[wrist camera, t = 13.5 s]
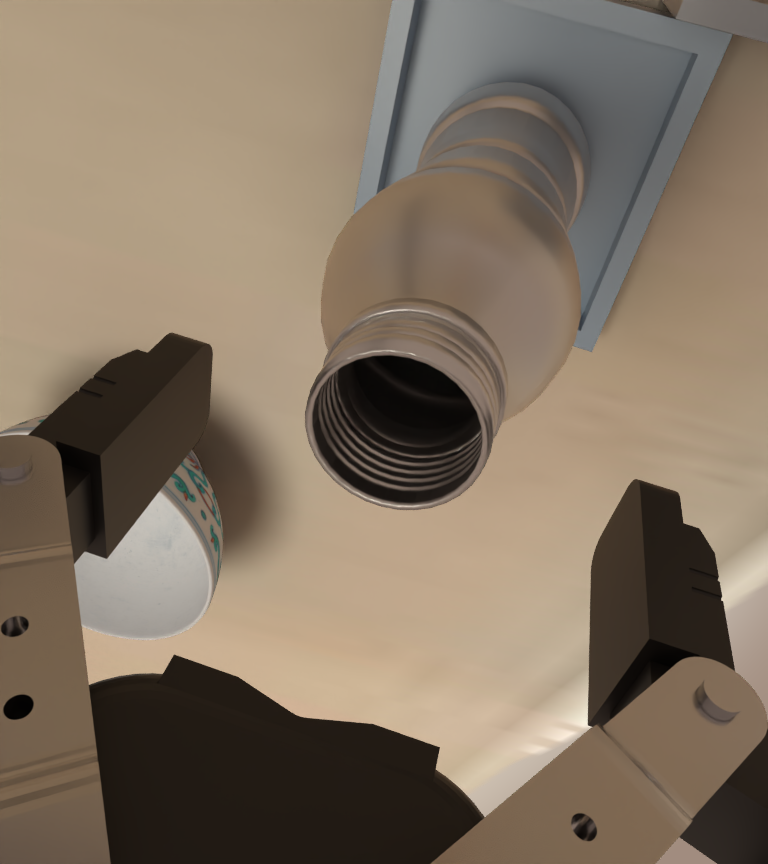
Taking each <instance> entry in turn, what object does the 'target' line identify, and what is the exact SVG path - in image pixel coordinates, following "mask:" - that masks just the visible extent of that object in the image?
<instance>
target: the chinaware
mask: <svg viewBox="0 0 768 864" xmlns="http://www.w3.org/2000/svg"><path fill="white" fill-rule="evenodd" d="M49 415H50V414H49ZM49 415H45V416H41V417H37V418H34V419H31V420H28V421H25V422H22V423H20V424H17V425H15V426H12V427H10V428H8V429H6V430H4V431H1V432H0V436H6V435H28V434H29V433H30V432H32V431H33V430H34V429H35V428H36V427H37V426H38V425H39V424H40V423H42V422H43V421H44V420H45V419H46V418H47V417H48V416H49ZM222 553H223V528H222V520H221V514H220V510H219V506H218V503H217V500H216V497H215V494H214V492H213V489H212V487H211V485H210V483H209V481H208V479H207V477H206V476H205V474H204V472H203V471H202V468H201V465H200V462H199V460H198V458H197V456H196V455H195V453H194V452H193V450H191V451H190V453H189V454H188V455H187V456H186V458H185V459H184V460H183V462H182V463H181V464H180V465H179V467H178V468H177V469H176V471H175V472H174V473H173V475H172V476H171V477H170V478H169V480H168V481H167V482H166V484H165V485H164V486H163V487H162V489H161V490H160V491H159V493H158V494H157V495H156V496H155V498H154V499H153V500H152V502H151V503H150V504H149V506H148V507H147V508H146V509H145V511H144V512H143V513H142V515H141V516H140V517H139V518H138V520H137V521H136V522H135V524H134V525H133V526H132V527H131V529H130V530H129V531H128V533H127V534H126V535H125V537H124V538H123V539H122V540H121V542H120V543H119V544H118V546H117V547H116V548H115V549H114V551H113V552H112V553H111V555H110V556H109V557H108V558H107V559H105V558H102V557H99V556H96V555H93V554H91V553H88V552H84V553H83V554H82V555H81V557H80V558H79V559H78V560H77V561H76V563H75V564H74V567H75V576H76V584H77V592H78V600H79V609H80V617H81V625H82V627H85V628H87V629H90V630H93V631H96V632H99V633H102V634H106V635H110V636H114V637H119V638H125V639H133V640H156V639H163V638H168V637H172V636H175V635H178V634H180V633H183V632H185V631H186V630H188V629H190V628H191V627H193V626H194V625H195V624H196V623H197V622H198V621H199V620H200V619H201V618H202V617H203V615H204V614H205V612H206V611H207V609H208V607H209V605H210V603H211V600H212V597H213V594H214V591H215V588H216V585H217V581H218V577H219V572H220V568H221V561H222Z"/></svg>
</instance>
